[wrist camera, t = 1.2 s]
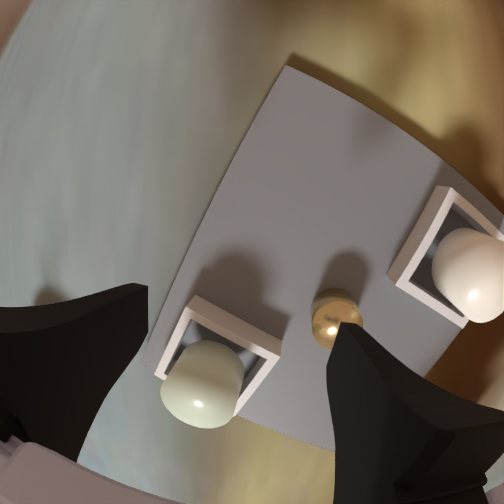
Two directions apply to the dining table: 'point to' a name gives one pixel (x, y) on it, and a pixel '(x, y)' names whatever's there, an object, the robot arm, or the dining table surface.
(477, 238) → the ivory knob
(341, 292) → the gold knob
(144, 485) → the dining table surface
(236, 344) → the panel
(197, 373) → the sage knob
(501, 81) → the dining table surface
